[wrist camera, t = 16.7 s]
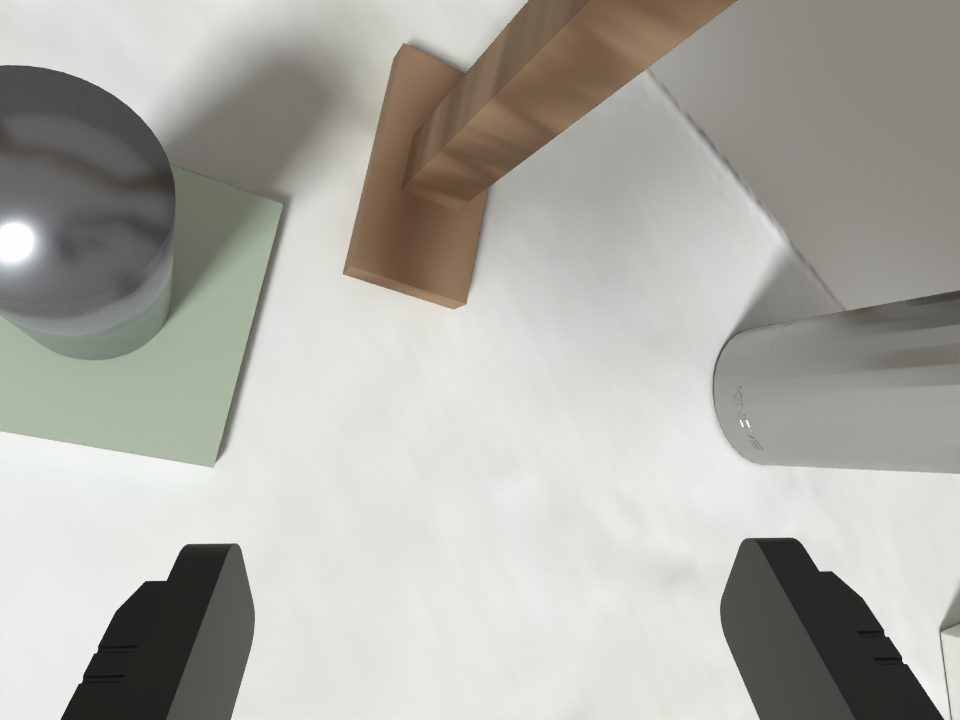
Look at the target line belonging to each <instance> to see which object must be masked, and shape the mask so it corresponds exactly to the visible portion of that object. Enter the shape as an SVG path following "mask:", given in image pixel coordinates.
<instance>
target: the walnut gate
mask: <svg viewBox="0 0 960 720" xmlns="http://www.w3.org/2000/svg"><path fill="white" fill-rule="evenodd" d="M736 1H737V0H529V1H528V2H527V3H526V4H525V5H524V6H523V8H522V9H521V10H520V11H519V12H518V13H517V15H516V16H515V17H514V18H513V19H512V20H511V22H510V23H509V24H508V25H507V26H506V27H505V29H504V30H503V31H502V32H501V33H500V34H499V36H498V37H497V38H496V39H495V40H494V41H493V43H492V44H491V45H490V46H489V47H488V48H487V50H486V51H485V52H484V53H483V54H482V55H481V57H480V58H479V59H478V60H477V61H476V62H475V64H474V65H473V66H472V67H471V68H470V69H469V71H468V72H467V73H466V74H465V73H463V72H461V71H459V70H457V69H455V68H453V67H451V66H449V65H447V64H445V63H443V62H441V61H439V60H437V59H435V58H433V57H431V56H429V55H427V54H425V53H423V52H421V51H419V50H417V49H414V48H412V47H410V46H408V45H406V44H404V43H403V45H402V46H401V48H400V50H399V51H398V53H397V54H396V56H395V58H394V59H393V64H392V68H391V72H390V76H389V81H388V85H387V89H386V93H385V97H384V102H383V106H382V110H381V114H380V119H379V123H378V127H377V131H376V136H375V140H374V144H373V148H372V152H371V157H370V161H369V165H368V169H367V174H366V178H365V182H364V186H363V191H362V195H361V199H360V203H359V207H358V212H357V216H356V220H355V224H354V229H353V233H352V237H351V241H350V246H349V250H348V254H347V258H346V262H345V267H344V271H343V274H344V275H348V276H351V277H354V278H357V279H360V280H363V281H366V282H369V283H373V284H376V285H379V286H382V287H385V288H388V289H391V290H395V291H398V292H401V293H404V294H407V295H410V296H413V297H417V298H420V299H423V300H426V301H429V302H432V303H435V304H439V305H442V306H445V307H448V308H451V309H456V308H458V307H460V306H463V305H465V304H466V303H467V298H468V292H469V287H470V282H471V277H472V271H473V266H474V261H475V256H476V250H477V245H478V240H479V235H480V229H481V224H482V219H483V214H484V208H485V203H486V198H487V193H488V187H489V186H491V185H492V184H493V183H495V182H496V181H497V180H499V179H500V178H501V177H503V176H504V175H505V174H507V173H508V172H509V171H511V170H512V169H513V168H515V167H516V166H517V165H519V164H520V163H521V162H523V161H524V160H525V159H527V158H528V157H529V156H531V155H532V154H533V153H535V152H536V151H537V150H539V149H540V148H541V147H543V146H544V145H545V144H547V143H548V142H549V141H551V140H552V139H553V138H555V137H556V136H557V135H559V134H560V133H561V132H563V131H564V130H565V129H567V128H568V127H569V126H571V125H572V124H573V123H575V122H576V121H577V120H579V119H580V118H581V117H583V116H584V115H585V114H587V113H588V112H589V111H591V110H592V109H593V108H595V107H596V106H597V105H599V104H600V103H601V102H603V101H604V100H605V99H607V98H608V97H609V96H611V95H612V94H613V93H615V92H616V91H617V90H619V89H620V88H621V87H623V86H624V85H625V84H627V83H628V82H629V81H631V80H632V79H633V78H635V77H636V76H637V75H639V74H640V73H641V72H643V71H644V70H645V69H647V68H648V67H649V66H651V65H652V64H653V63H654V62H656V61H657V60H659V59H660V58H661V57H663V56H664V55H665V54H667V53H668V52H669V51H671V50H672V49H673V48H675V47H676V46H677V45H678V44H680V43H681V42H683V41H684V40H685V39H687V38H688V37H689V36H691V35H692V34H693V33H695V32H696V31H697V30H699V29H700V28H701V27H702V26H704V25H705V24H707V23H708V22H709V21H711V20H712V19H713V18H715V17H716V16H717V15H719V14H720V13H721V12H723V11H724V10H725V9H726V8H728V7H729V6H731V5H732V4H733V3H735V2H736Z"/></svg>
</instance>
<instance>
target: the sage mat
mask: <svg viewBox="0 0 960 720" xmlns="http://www.w3.org/2000/svg"><path fill="white" fill-rule="evenodd" d="M170 167H171V170H172V173H173V178H174V183H175V196H176V204H175V231H174V258H173V285H172V302H171V307H170V311H169V314H168V317H167V319H166V321H165V323H164V324H163V326H162V328H161V329H160V330H159V332H158V333H157V334H156V335H155V336H154V337H153V338H152V339H151V340H150V341H149V342H148V343H146V344H145V345H144V346H142V347H141V348H139V349H137V350H135V351H133V352H131V353H129V354H126V355H124V356H120V357H117V358H113V359H106V360H80V359H75V358H70V357H67V356H64V355H60V354H58V353H56V352H53V351H51V350H49V349H48V348H46V347H44V346H43V345H41V344H39V343H38V342H37V341H35V340H34V339H33V338H31V337H30V336H28V335H27V334H26V333H24V332H23V331H21V330H20V329H19V328H17V327H16V326H14V325H13V324H12V323H10V322H9V321H7V320H6V319H5V318H3V317H2V316H0V431H2V432H8V433H14V434H20V435H26V436H32V437H38V438H43V439H49V440H55V441H61V442H67V443H73V444H78V445H84V446H90V447H96V448H102V449H108V450H113V451H119V452H125V453H131V454H137V455H143V456H149V457H154V458H160V459H166V460H172V461H178V462H184V463H189V464H195V465H201V466H207V467H213V468H214V465H215V461H216V457H217V454H218V450H219V446H220V442H221V439H222V435H223V431H224V427H225V423H226V420H227V416H228V412H229V408H230V404H231V401H232V397H233V393H234V389H235V385H236V382H237V378H238V374H239V370H240V366H241V363H242V359H243V355H244V351H245V348H246V344H247V340H248V336H249V332H250V329H251V325H252V321H253V317H254V313H255V310H256V306H257V302H258V298H259V294H260V291H261V287H262V283H263V279H264V275H265V272H266V268H267V264H268V260H269V257H270V253H271V249H272V245H273V241H274V238H275V234H276V230H277V226H278V222H279V219H280V215H281V211H282V207H283V204H282V203H279V202H276V201H274V200H271V199H268V198H265V197H262V196H259V195H256V194H254V193H251V192H248V191H245V190H242V189H239V188H237V187H234V186H231V185H228V184H225V183H222V182H220V181H217V180H214V179H211V178H208V177H205V176H202V175H200V174H197V173H194V172H191V171H188V170H185V169H183V168H180V167H177V166H174V165H171V164H170Z"/></svg>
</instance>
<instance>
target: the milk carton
mask: <svg viewBox="0 0 960 720" xmlns="http://www.w3.org/2000/svg"><path fill="white" fill-rule="evenodd" d="M941 640H942V648H943V655H944V663H945V671H946V678H947V685H948V693H949V700H950V708H951V715H952V720H960V624H958V625H956V626H953V627H951V628H948V629H946V630H944V631H942V632H941Z"/></svg>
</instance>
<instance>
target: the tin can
mask: <svg viewBox="0 0 960 720" xmlns="http://www.w3.org/2000/svg"><path fill="white" fill-rule="evenodd" d="M175 204H176V196H175V183H174V178H173V173H172V170H171V167H170V164H169V161H168V158H167V156H166V154H165V152H164V150H163V148H162V146H161V144H160V142H159V141H158V139H157V138H156V136H155V135H154V133H153V132H152V130H151V129H150V128H149V127H148V126H147V125H146V123H145V122H144V121H143V120H142V119H141V118H140V117H139V116H138V115H137V114H136V113H135V112H134V111H133V110H132V109H131V108H130V107H128V106H127V105H126V104H125V103H123V102H122V101H120V100H119V99H118V98H116V97H115V96H114V95H112V94H110V93H109V92H107V91H105V90H103V89H102V88H100V87H98V86H96V85H94V84H92V83H90V82H88V81H85V80H83V79H81V78H78V77H75V76H72V75H69V74H66V73H63V72H59V71H55V70H51V69H46V68H39V67H32V66H16V65H4V66H0V316H2V317H3V318H5V319H6V320H7V321H9V322H10V323H12V324H13V325H14V326H16V327H17V328H19V329H20V330H21V331H23V332H24V333H26V334H27V335H28V336H30V337H31V338H33V339H34V340H35V341H37V342H38V343H39V344H41V345H43V346H44V347H46V348H48V349H49V350H51V351H53V352H56V353H58V354H60V355H64V356H67V357H70V358H75V359H80V360H106V359H113V358H117V357H120V356H124V355H126V354H129V353H131V352H133V351H135V350H137V349H139V348H141V347H142V346H144V345H145V344H146V343H148V342H149V341H150V340H151V339H152V338H153V337H154V336H155V335H156V334H157V333H158V332H159V330H160V329H161V328H162V326H163V324H164V323H165V321H166V319H167V317H168V314H169V311H170V307H171V302H172V285H173V258H174V231H175Z"/></svg>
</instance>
